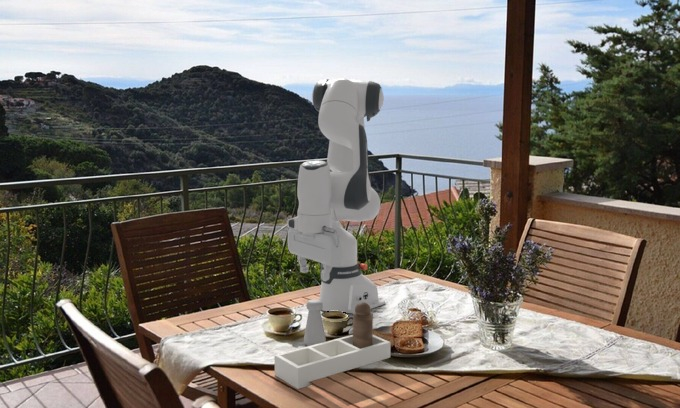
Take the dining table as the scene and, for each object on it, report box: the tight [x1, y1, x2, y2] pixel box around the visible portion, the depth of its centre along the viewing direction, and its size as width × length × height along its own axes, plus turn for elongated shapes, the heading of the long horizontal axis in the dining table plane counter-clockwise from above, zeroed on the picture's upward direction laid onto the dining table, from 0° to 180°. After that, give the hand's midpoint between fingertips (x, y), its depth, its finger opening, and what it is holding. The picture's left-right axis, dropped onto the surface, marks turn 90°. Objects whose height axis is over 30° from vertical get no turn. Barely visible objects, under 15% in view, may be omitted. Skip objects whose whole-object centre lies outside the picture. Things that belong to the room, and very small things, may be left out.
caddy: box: [273, 334, 392, 390], centre depth 165 cm, size 28×10×5 cm, turn 127°
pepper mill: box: [352, 302, 374, 349], centre depth 169 cm, size 5×5×14 cm
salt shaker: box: [303, 298, 327, 347], centre depth 178 cm, size 6×6×13 cm
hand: (314, 275), depth 175 cm, fingers open, 8 cm apart
